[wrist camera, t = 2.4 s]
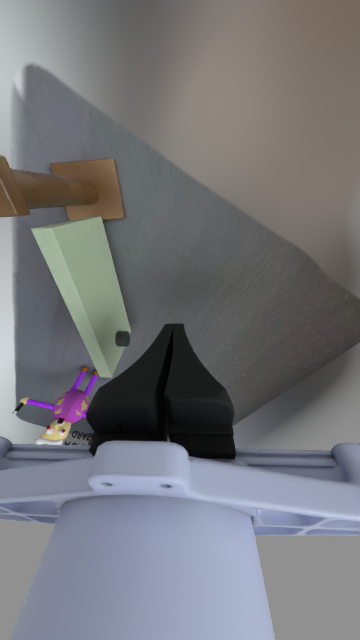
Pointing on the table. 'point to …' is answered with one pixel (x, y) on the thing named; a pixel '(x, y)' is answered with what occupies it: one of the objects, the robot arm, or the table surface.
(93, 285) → the door
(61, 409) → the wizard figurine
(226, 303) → the table surface
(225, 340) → the table surface
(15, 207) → the wooden stand
